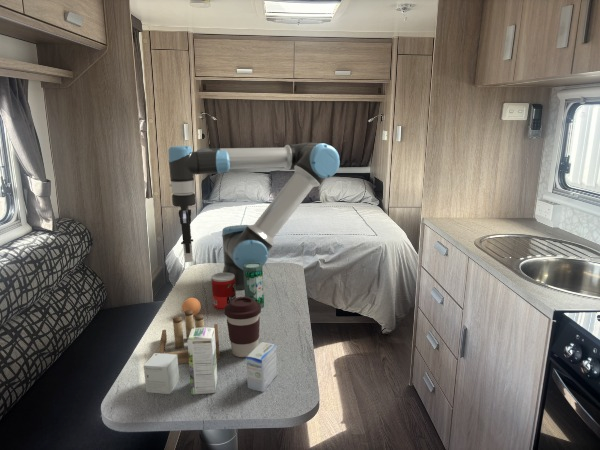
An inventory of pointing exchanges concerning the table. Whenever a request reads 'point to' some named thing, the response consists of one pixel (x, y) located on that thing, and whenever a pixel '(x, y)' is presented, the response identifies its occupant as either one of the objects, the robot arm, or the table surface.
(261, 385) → the medicine box
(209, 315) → the table surface
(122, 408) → the table surface
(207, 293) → the table surface
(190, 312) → the front pin
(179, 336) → the rear pin
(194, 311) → the ball
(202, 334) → the syrup box
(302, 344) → the table surface
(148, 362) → the product box
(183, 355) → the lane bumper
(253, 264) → the can
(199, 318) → the rear pin
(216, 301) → the canned food
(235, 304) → the coffee cup
